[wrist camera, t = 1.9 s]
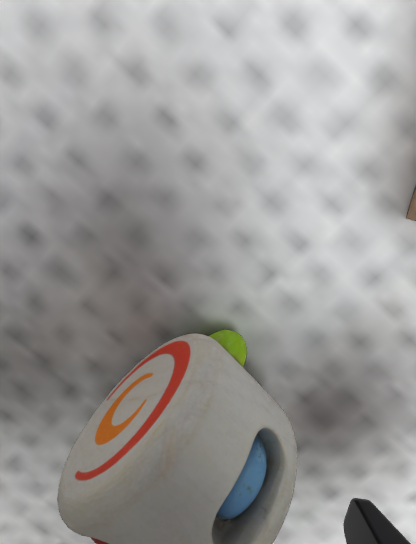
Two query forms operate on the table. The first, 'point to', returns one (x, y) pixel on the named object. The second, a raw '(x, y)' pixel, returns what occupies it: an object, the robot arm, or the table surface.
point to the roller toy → (183, 453)
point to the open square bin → (412, 208)
